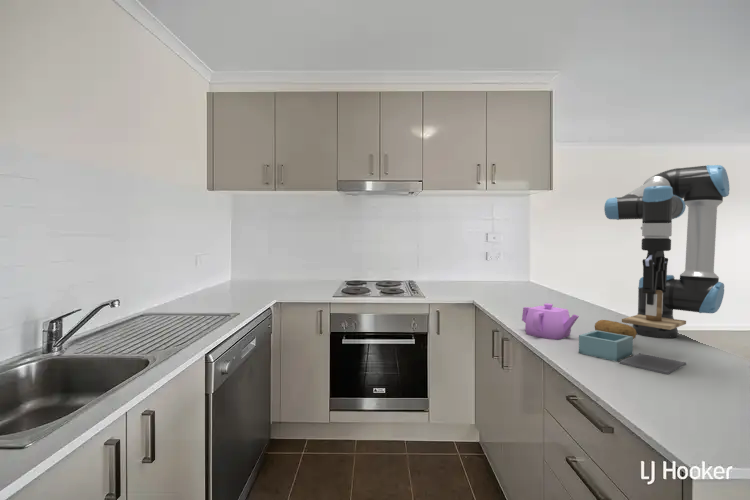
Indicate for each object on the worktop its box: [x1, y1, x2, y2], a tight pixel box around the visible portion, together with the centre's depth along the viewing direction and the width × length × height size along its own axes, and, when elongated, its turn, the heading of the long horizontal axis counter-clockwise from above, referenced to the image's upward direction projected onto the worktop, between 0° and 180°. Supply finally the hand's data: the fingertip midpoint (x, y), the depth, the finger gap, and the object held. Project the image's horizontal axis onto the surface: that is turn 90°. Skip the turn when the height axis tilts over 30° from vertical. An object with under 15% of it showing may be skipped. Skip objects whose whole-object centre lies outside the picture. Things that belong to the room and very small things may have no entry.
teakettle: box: [521, 302, 580, 341], centre depth 172 cm, size 17×17×12 cm
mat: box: [619, 352, 687, 375], centre depth 134 cm, size 15×13×1 cm
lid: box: [621, 290, 687, 330], centre depth 134 cm, size 13×13×10 cm
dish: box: [578, 329, 634, 362], centre depth 145 cm, size 12×12×6 cm
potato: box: [594, 319, 638, 340], centre depth 159 cm, size 10×14×8 cm
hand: (653, 314), depth 134 cm, fingers closed on lid, 4 cm apart
